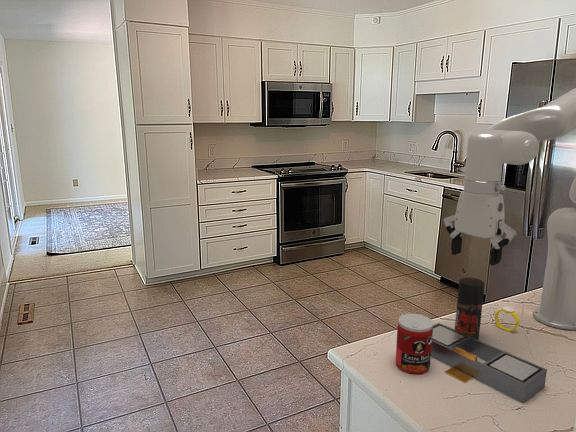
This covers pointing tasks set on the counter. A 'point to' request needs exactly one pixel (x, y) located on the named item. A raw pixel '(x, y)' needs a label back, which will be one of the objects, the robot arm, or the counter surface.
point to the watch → (510, 311)
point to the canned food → (414, 343)
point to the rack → (486, 364)
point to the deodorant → (469, 306)
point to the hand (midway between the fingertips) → (474, 258)
